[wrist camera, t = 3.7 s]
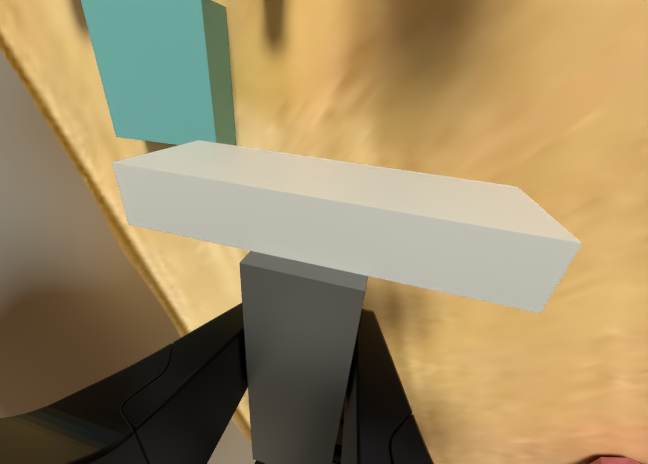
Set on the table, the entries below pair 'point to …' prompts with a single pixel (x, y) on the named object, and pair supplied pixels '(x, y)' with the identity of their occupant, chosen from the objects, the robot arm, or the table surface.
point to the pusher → (336, 261)
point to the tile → (164, 68)
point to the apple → (614, 461)
